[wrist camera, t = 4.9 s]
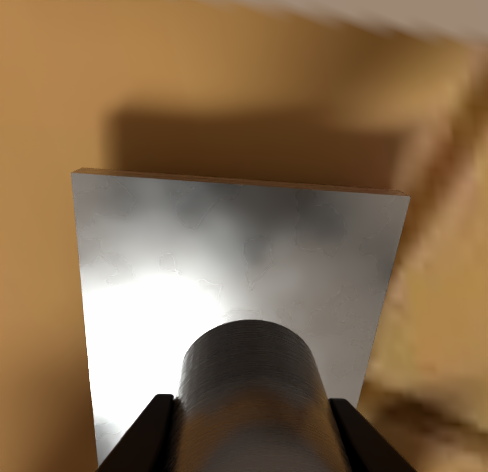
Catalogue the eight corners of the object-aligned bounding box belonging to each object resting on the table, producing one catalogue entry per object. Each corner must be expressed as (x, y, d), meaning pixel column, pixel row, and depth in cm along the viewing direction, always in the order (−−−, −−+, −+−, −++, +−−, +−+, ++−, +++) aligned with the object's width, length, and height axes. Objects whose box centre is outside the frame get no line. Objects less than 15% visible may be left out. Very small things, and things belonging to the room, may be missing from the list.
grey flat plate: (383, 182, 15) (410, 196, 13) (312, 495, 22) (322, 540, 20) (95, 161, 14) (70, 172, 12) (117, 495, 21) (105, 541, 19)
